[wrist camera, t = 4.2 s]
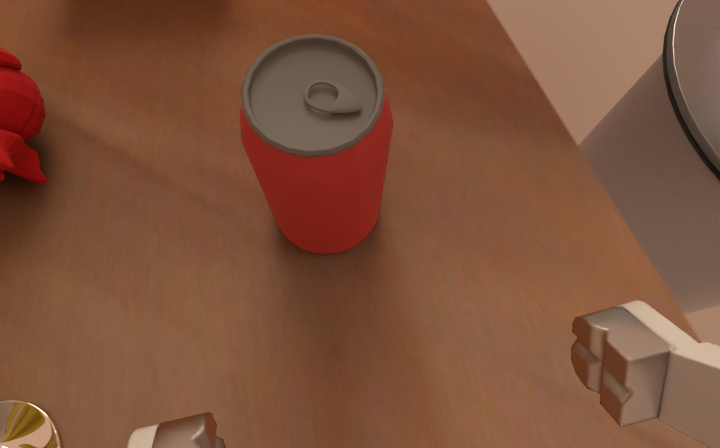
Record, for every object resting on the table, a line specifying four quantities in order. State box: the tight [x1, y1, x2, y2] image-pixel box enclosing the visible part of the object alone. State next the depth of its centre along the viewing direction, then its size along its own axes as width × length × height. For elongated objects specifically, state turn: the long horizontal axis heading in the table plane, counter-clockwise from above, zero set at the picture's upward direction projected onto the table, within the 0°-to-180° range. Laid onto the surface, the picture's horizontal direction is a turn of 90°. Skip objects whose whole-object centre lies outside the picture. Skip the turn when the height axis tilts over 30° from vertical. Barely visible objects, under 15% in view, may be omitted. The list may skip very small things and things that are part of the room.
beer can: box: [240, 34, 393, 254], centre depth 24 cm, size 7×7×12 cm
